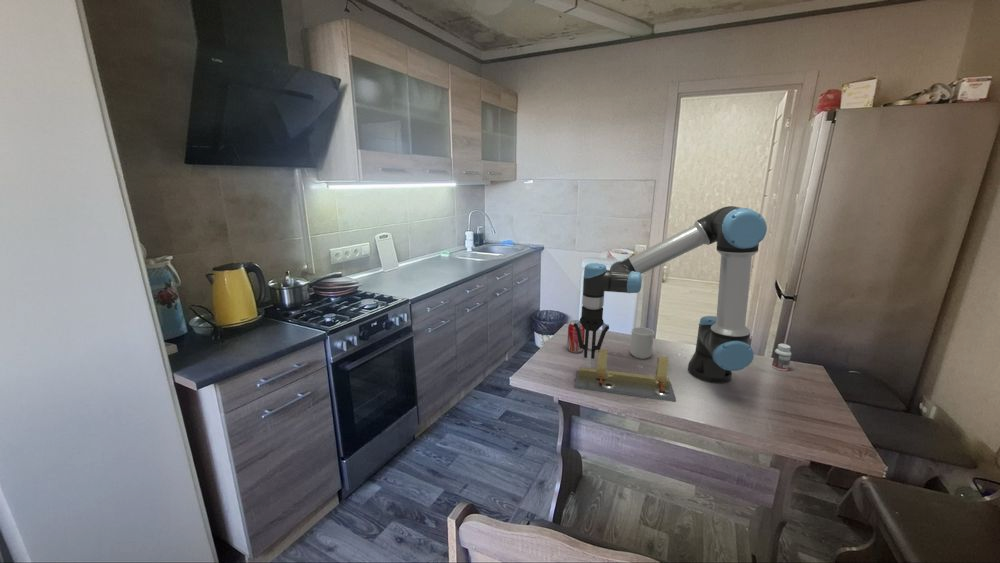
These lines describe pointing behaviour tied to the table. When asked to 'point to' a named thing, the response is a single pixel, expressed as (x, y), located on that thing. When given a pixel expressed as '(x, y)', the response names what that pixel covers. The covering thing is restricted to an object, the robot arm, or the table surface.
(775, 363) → the pill bottle
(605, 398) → the table surface
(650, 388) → the bolt plate
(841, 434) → the table surface
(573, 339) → the soda can
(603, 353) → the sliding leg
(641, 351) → the mug
